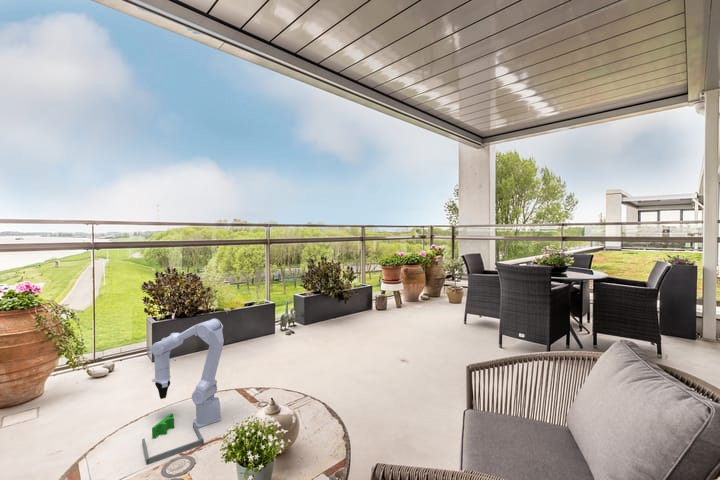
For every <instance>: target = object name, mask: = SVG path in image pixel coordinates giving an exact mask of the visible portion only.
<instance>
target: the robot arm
mask: <svg viewBox="0 0 720 480" xmlns="http://www.w3.org/2000/svg"><path fill="white" fill-rule="evenodd" d="M223 329H224V324H222V322H221V321H220V320H219V319H218V318H211V319H209V320H206V321H202V322H200V323H197V324H195V325H193V326H191V327H189V328H188V329H186V330H184V331H182V332H172V333H169V336H167V337H162V338H161V340H160V341H157V342H154V343H153V344H152V345H151V347H150V352H151V353H152V354H153V357H154V378H152V379H151V382H152V383H154V385H155V387H156V389H157V391H158V394H159V399H160V400H162V399H167V396H168V389H169V387H170V385H171V371H170V368H171V367H170V365H171V364H170V355H171V351H172V350H173V349H175V348H177V347H179V346H181V345H182V344H183V343H184V340H186V339H188V338H190V337H192V336H195V337H197V336H198V338H200V339H201V340H202V341H203V342H204V343H205V344H207V345H208V349H207V355H206V357H205V362H204V366H203V370H202V374H201V378H200V380H199V382H197V385H196V386H195V389H194V390H193V392H192V394H191V401H192V402H193V403H194V405H195V418H194V419H193V423H194V422H195V424H196V426H197V428H198V429H199V428H202V427H205V426H207V425H211V424H215V423H217V422H220V421H221V420H222V418H221V401H220V398H219V396H217V397H215V395H216V393H218V392H217V391H218V385H217V383H218V381H217V379H216V375H217V371H218V367H219V363H220V359H221V354H222V351H223V347H224V342H225V341H224V334H223Z"/></svg>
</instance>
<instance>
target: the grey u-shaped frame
mask: <svg viewBox="0 0 720 480" xmlns="http://www.w3.org/2000/svg"><path fill="white" fill-rule="evenodd" d="M192 429H193V431H194V433H195V435H196V437H197V439H198V440H195V441H192V442H189V443H186V444H184V445H181V446H177V447H175V448H173V449H170V450H167V451H164V452H160V453H158V454H155V455H153V456H149V452H148V447H147V443H146V439H145V438H142V442H141V443H142V448H143V449H142V450H143V454H144V458H145V465H150V464H153V463H156V462H158V461H160V460H163V459H166V458H167V459H168V458H169V457H171V456H175V455H178V454H180V453H183V452H186V451H189V450H191V449H194V448H197V447H200V446H202V445H204V443H205V441H204V438H203V436H202V434H201V432H200V430H199V428H197V426H196V424H195V422H194V421H193V422H192Z"/></svg>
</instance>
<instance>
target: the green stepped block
mask: <svg viewBox="0 0 720 480" xmlns="http://www.w3.org/2000/svg"><path fill="white" fill-rule="evenodd" d="M171 429H173V430H174V429H175V417H174V413H171V412H170V413H169V414H168V415H166V417H164V418H163V419H161V420H160V421H158V423H156V424H155V425H154V426H152V427H151V431H152V432H151V438H152V439H153V440H154V439H157V437H158V436H161V435H164V436H165V435H167V434H168V430H171Z"/></svg>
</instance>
